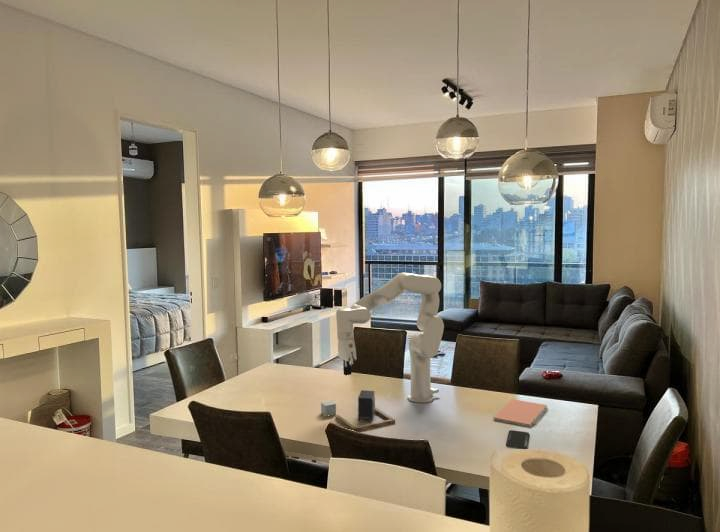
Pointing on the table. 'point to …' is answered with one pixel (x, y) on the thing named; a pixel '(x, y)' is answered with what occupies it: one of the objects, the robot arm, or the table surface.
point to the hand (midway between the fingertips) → (347, 374)
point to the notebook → (521, 413)
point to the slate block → (328, 408)
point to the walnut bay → (368, 426)
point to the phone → (517, 439)
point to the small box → (366, 405)
